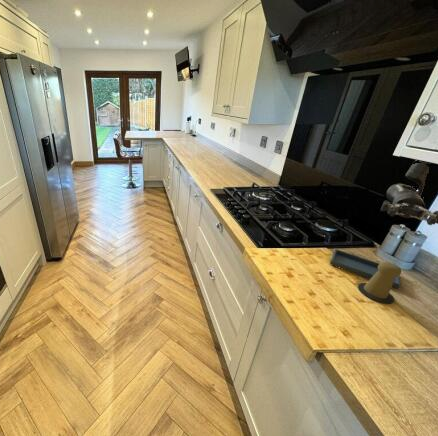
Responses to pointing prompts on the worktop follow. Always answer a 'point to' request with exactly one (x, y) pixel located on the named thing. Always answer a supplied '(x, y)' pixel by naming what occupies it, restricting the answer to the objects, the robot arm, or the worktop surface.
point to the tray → (358, 265)
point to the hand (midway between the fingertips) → (412, 217)
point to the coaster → (385, 301)
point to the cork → (382, 280)
